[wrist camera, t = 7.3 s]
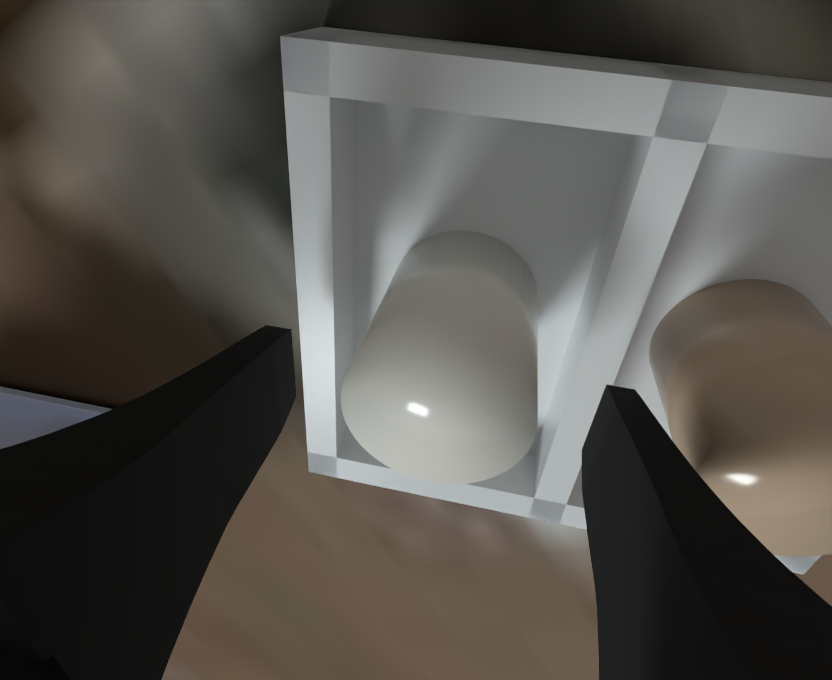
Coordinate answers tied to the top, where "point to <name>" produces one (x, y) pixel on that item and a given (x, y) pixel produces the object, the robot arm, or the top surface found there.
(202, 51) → the top surface
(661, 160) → the holder
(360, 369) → the cream egg
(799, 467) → the brown egg
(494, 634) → the top surface
